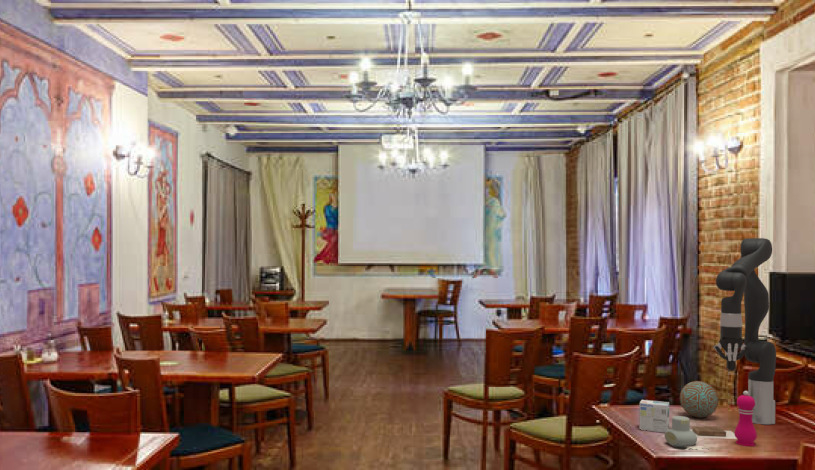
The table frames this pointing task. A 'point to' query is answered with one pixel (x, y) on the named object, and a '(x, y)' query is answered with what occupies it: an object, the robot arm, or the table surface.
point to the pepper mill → (745, 421)
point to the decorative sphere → (699, 399)
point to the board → (728, 436)
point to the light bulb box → (654, 416)
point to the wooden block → (709, 431)
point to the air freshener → (680, 433)
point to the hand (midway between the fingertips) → (731, 370)
